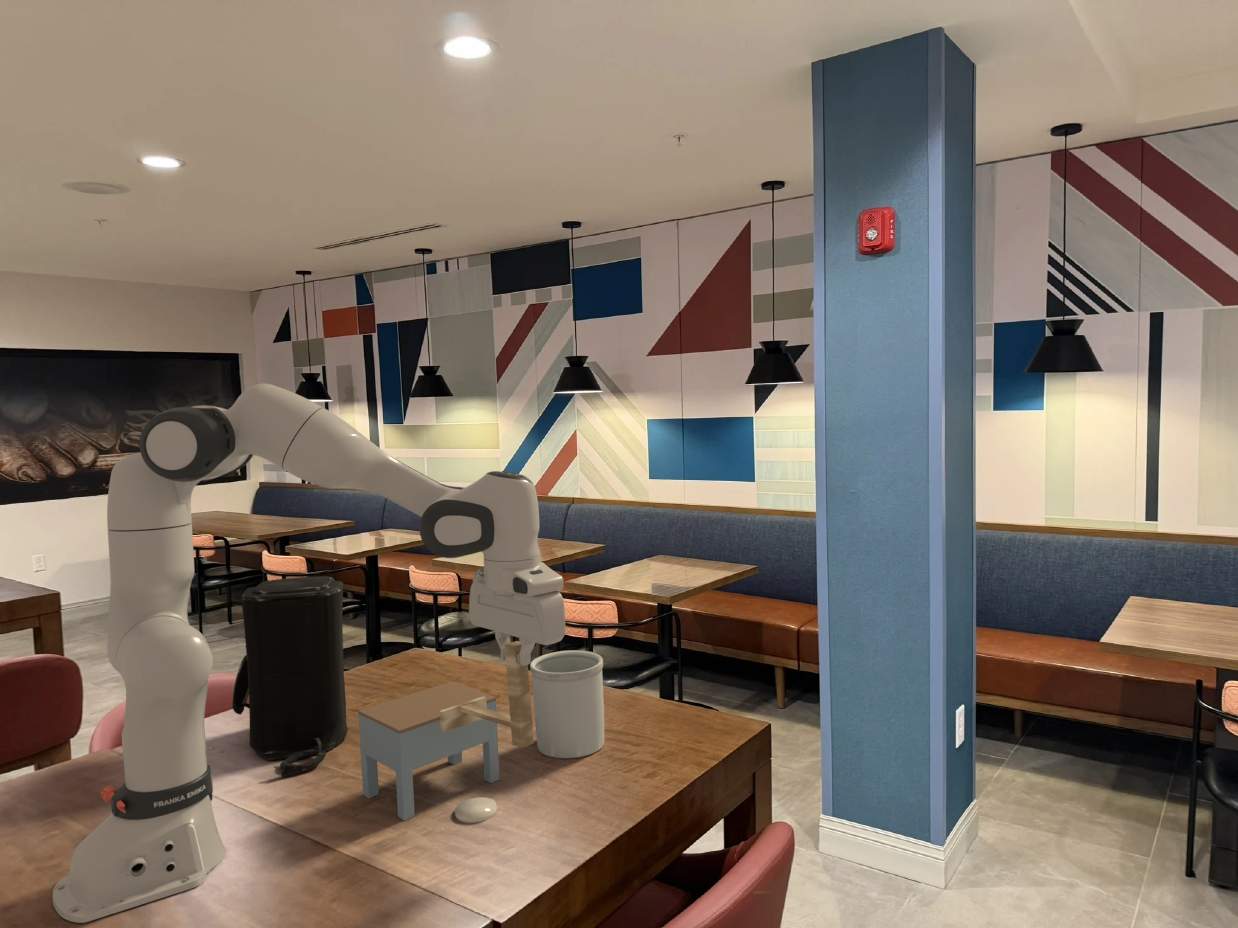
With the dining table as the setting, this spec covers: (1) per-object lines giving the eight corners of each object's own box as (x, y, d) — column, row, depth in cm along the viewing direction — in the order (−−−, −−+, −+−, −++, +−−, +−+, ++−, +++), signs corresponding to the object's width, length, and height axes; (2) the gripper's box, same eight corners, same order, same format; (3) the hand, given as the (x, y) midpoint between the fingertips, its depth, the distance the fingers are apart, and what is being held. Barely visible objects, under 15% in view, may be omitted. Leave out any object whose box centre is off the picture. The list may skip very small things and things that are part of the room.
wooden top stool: (404, 820, 137) (399, 730, 136) (363, 794, 147) (358, 710, 146) (499, 779, 152) (495, 697, 150) (456, 758, 161) (452, 681, 160)
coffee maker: (332, 706, 192) (324, 566, 190) (389, 748, 167) (381, 586, 165) (229, 733, 178) (219, 581, 176) (275, 783, 153) (263, 607, 151)
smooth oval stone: (470, 828, 134) (470, 821, 134) (447, 814, 140) (447, 807, 139) (505, 812, 139) (504, 806, 139) (482, 799, 144) (481, 793, 144)
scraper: (504, 754, 125) (497, 651, 124) (441, 731, 137) (433, 637, 137) (549, 736, 131) (542, 638, 130) (484, 715, 143) (478, 625, 143)
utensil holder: (522, 757, 161) (519, 670, 159) (547, 728, 175) (544, 648, 174) (595, 763, 157) (591, 674, 156) (613, 732, 172) (611, 651, 170)
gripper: (457, 570, 132) (461, 653, 133) (538, 586, 118) (541, 680, 119) (489, 564, 137) (492, 645, 138) (571, 579, 122) (573, 669, 123)
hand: (515, 661), depth 128 cm, fingers closed on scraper, 2 cm apart
